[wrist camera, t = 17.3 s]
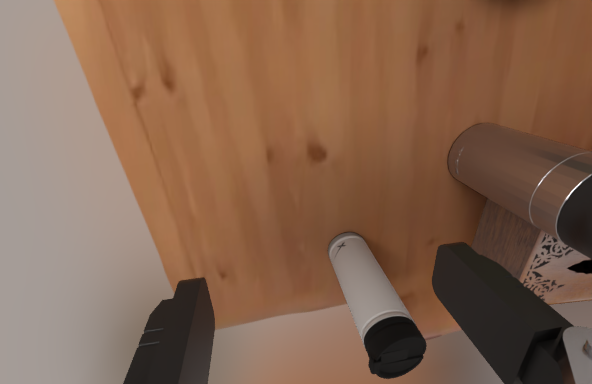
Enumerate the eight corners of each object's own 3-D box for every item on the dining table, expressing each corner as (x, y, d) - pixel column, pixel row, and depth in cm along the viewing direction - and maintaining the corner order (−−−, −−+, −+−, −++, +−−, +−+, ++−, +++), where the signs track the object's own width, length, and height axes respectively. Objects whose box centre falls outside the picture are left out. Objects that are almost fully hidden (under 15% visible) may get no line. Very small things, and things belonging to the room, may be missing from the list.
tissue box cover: (619, 190, 51) (698, 218, 42) (583, 257, 57) (645, 294, 48) (486, 195, 47) (541, 228, 38) (463, 266, 53) (506, 309, 44)
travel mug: (325, 233, 46) (374, 348, 28) (366, 229, 46) (438, 338, 29) (324, 265, 48) (368, 388, 30) (363, 261, 49) (427, 378, 31)
